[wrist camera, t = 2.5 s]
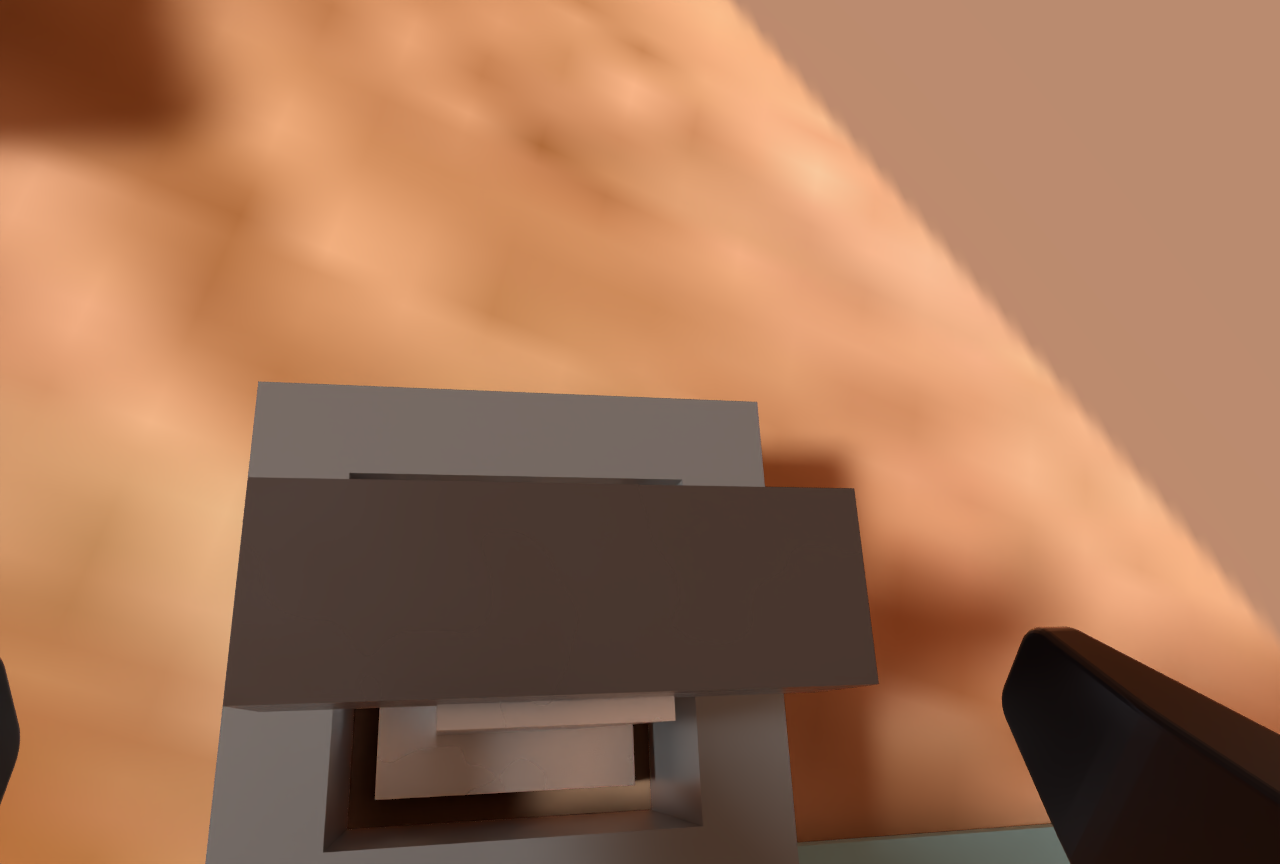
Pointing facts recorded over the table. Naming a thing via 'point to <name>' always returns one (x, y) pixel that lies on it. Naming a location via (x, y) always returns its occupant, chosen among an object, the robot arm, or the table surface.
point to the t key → (537, 616)
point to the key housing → (507, 452)
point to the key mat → (943, 848)
